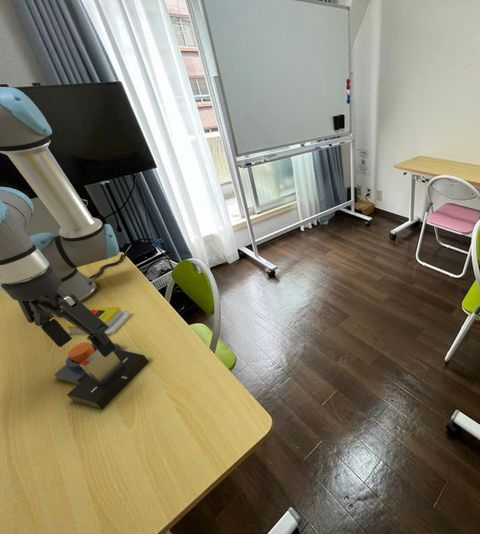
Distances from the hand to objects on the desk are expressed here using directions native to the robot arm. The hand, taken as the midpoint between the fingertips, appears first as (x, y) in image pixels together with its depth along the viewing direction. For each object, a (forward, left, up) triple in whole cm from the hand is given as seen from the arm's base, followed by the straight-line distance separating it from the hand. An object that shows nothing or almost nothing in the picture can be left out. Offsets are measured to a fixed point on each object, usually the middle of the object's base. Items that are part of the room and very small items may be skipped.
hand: (87, 347), depth 69 cm
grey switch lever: (0, 0, -11) cm, 11 cm away
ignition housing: (-3, -12, -14) cm, 18 cm away
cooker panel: (0, -1, -14) cm, 14 cm away
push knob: (-3, -12, -10) cm, 16 cm away
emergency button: (-16, -25, -14) cm, 33 cm away
